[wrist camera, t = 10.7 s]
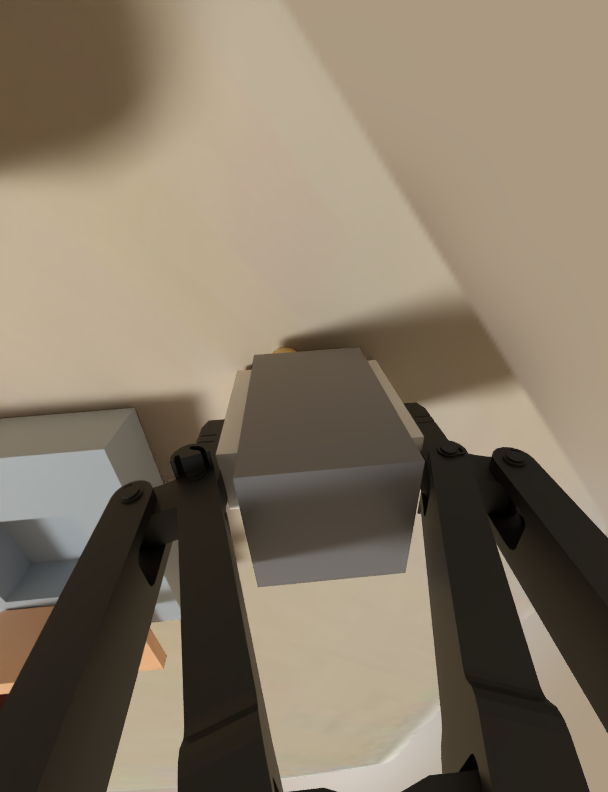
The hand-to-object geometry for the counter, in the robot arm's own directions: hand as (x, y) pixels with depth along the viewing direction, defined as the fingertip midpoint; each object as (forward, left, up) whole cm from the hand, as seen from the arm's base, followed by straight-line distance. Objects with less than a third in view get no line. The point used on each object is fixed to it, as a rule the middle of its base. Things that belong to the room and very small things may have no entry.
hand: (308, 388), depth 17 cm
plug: (0, 0, 0) cm, 0 cm away
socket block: (+8, -16, 0) cm, 18 cm away
